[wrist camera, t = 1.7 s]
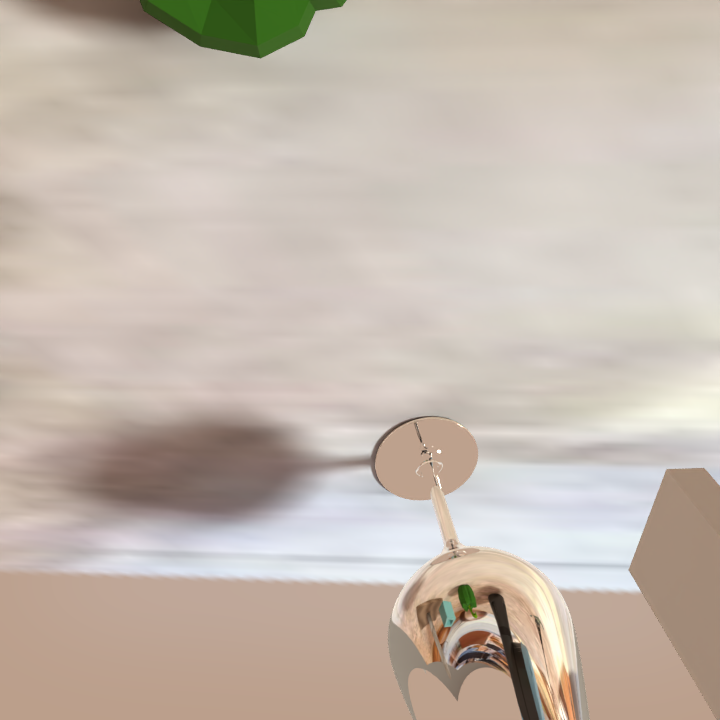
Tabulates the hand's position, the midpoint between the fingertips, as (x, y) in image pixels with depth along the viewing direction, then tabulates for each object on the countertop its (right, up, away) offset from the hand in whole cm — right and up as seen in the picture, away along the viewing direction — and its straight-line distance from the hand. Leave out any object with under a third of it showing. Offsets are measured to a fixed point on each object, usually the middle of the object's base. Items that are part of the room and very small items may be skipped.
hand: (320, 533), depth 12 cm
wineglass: (+5, -3, +27) cm, 28 cm away
